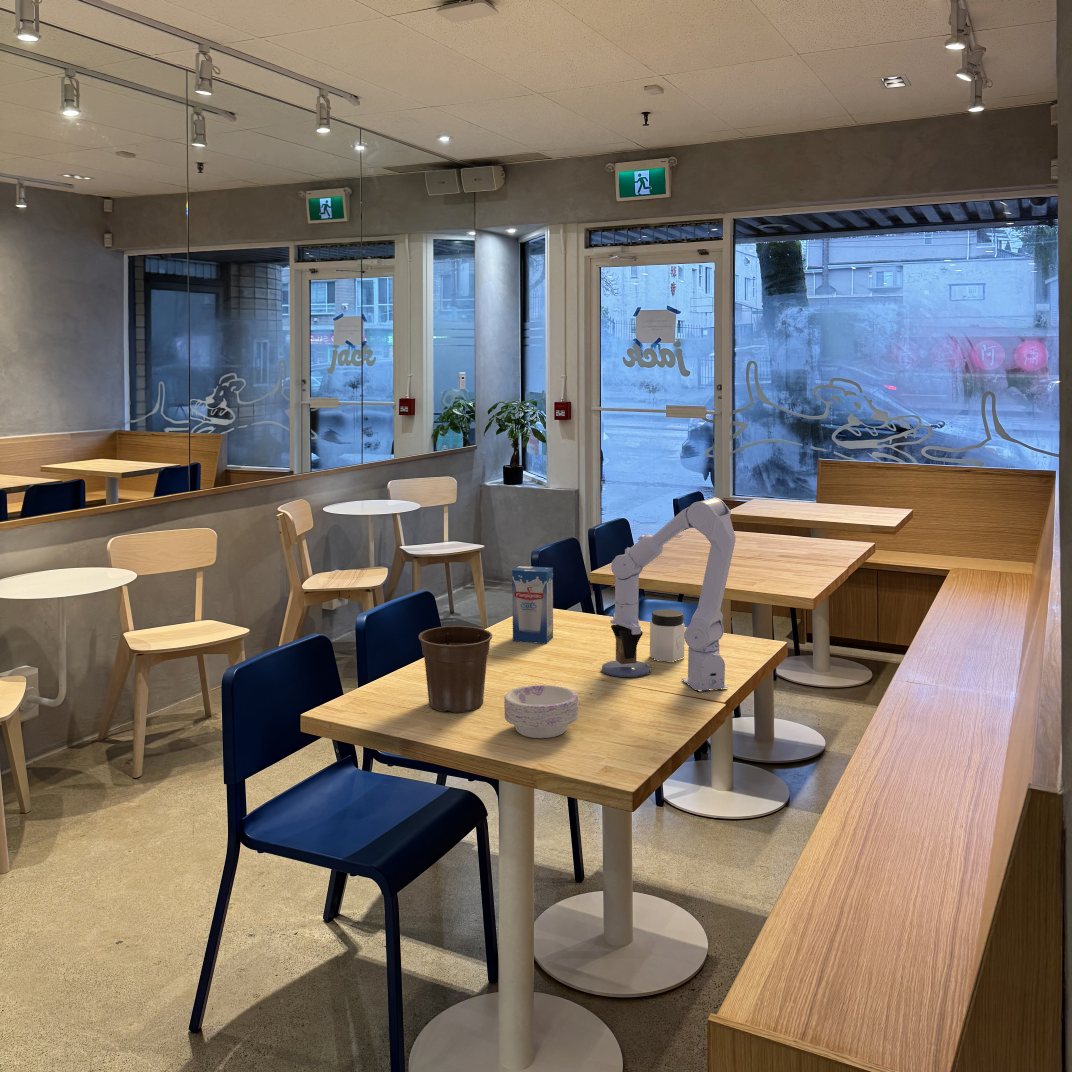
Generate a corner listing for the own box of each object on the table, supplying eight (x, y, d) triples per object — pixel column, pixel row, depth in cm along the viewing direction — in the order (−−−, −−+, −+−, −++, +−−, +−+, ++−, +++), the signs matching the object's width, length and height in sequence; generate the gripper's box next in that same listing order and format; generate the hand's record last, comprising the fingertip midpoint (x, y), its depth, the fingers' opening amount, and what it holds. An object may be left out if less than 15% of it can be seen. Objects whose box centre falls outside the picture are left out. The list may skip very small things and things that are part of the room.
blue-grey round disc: (657, 675, 243) (657, 671, 242) (610, 679, 240) (611, 675, 239) (640, 662, 254) (640, 658, 254) (595, 665, 251) (595, 662, 251)
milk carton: (512, 640, 275) (511, 570, 272) (519, 635, 281) (518, 565, 278) (547, 643, 272) (546, 571, 269) (553, 637, 278) (553, 567, 275)
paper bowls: (536, 713, 216) (535, 678, 215) (592, 728, 207) (592, 692, 206) (489, 733, 205) (488, 696, 203) (547, 750, 195) (546, 711, 194)
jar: (668, 664, 252) (669, 618, 250) (643, 658, 258) (644, 613, 256) (690, 657, 258) (691, 612, 256) (665, 651, 264) (666, 607, 262)
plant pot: (508, 704, 222) (507, 634, 219) (451, 722, 211) (449, 649, 209) (462, 688, 234) (460, 622, 231) (406, 704, 223) (404, 634, 220)
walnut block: (636, 663, 245) (636, 639, 244) (621, 664, 244) (621, 640, 243) (630, 658, 249) (631, 635, 248) (615, 659, 248) (615, 636, 247)
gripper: (602, 596, 250) (601, 649, 252) (621, 609, 236) (620, 665, 238) (628, 595, 252) (628, 647, 254) (649, 607, 238) (648, 662, 240)
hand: (626, 655), depth 246 cm, fingers closed on walnut block, 4 cm apart
